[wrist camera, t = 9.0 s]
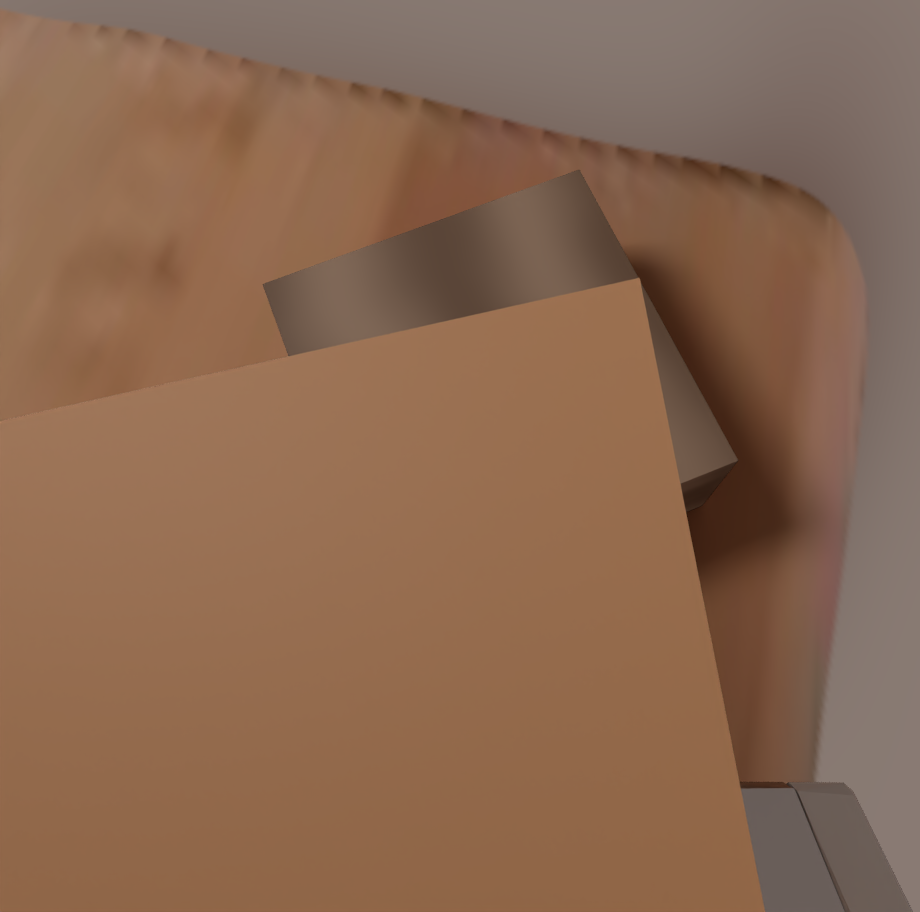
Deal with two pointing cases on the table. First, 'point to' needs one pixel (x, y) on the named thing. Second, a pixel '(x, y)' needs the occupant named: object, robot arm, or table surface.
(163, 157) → the table surface
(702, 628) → the cover
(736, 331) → the table surface
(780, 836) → the robot arm
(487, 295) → the stand
